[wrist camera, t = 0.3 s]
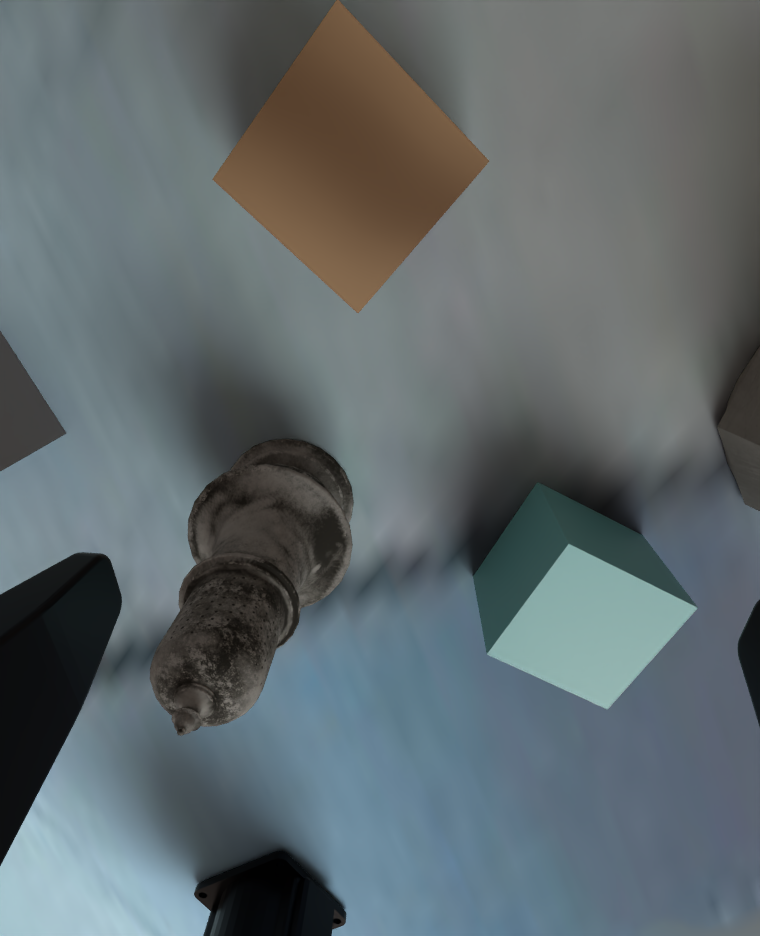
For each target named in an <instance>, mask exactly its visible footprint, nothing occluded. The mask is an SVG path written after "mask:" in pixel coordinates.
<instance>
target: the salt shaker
mask: <svg viewBox="0 0 760 936" xmlns="http://www.w3.org/2000/svg"><path fill="white" fill-rule="evenodd" d="M353 503H354V502H353V494H352V487H351V485H350V483H349V480H348V478H347V476H346V473H345V472H344V470H343V469H342V468H341V467H340V465H339V464H338V463H337V462H336V460H335V459H334V458H332V457H331V456H330V455H328V454H327V453H326V452H324V451H323V450H322V449H320V448H318V447H316V446H313V445H311V444H309V443H306V442H303V441H297V440H291V439H279V440H269V441H267V442H264V443H261V444H258V445H255V446H254V447H252V448H251V449H249V450H248V451H247V452H245V453H244V454H242V455H241V457H240V458H239V459H238V460H237V462H236V463H235V464H234V466H233V467H232V468H231V471H228V472H226V473H223V474H222V475H221V476H219V477H218V478H216V479H215V480H214V481H212V482H211V483H209V484H208V485H207V486H206V487H205V489H204V490H203V491H202V493H201V494H200V495H199V497H198V498H197V499H196V500H195V502H194V505H193V508H192V511H191V514H190V516H189V519H188V541H189V545H190V548H191V552H192V556H193V558H194V560H195V562H196V564H197V565H196V566H194V567H193V568H192V569H191V571H190V572H189V573H188V574H187V576H186V577H185V578H184V580H183V583H182V586H181V588H180V591H179V608H180V612H179V614H178V615H177V617H176V618H175V620H174V622H173V623H172V625H171V626H170V628H169V630H168V631H167V633H166V635H165V636H164V638H163V639H162V641H161V643H160V644H159V646H158V647H157V650H156V652H155V655H154V657H153V660H152V664H151V668H150V681H151V684H152V687H153V691H154V693H155V696H156V698H157V700H158V701H159V703H160V704H161V706H162V707H163V708H164V709H165V710H166V711H167V712H168V713H169V714H170V715H172V722H173V723H174V727H175V729H176V731H177V734H178V735H180V736H182V735H184V734H187V733H190V732H191V731H194V730H197V729H198V728H199V727H200V726H204V727H206V726H218V725H222V724H225V723H228V722H231V721H233V720H235V719H237V718H239V717H240V716H242V715H244V714H245V713H246V712H247V711H248V710H249V709H250V708H251V707H252V706H253V705H254V703H255V702H256V701H257V699H258V697H259V695H260V693H261V691H262V689H263V687H264V684H265V681H266V678H267V675H268V672H269V669H270V666H271V663H272V660H273V657H274V654H275V651H276V649H277V648H279V647H280V646H282V645H284V644H285V642H286V641H287V640H288V639H289V638H290V637H291V636H292V635H293V633H294V631H295V629H296V627H297V625H298V623H299V617H300V610H301V608H302V607H306V606H309V605H312V604H314V603H316V602H317V601H319V600H321V599H322V598H324V597H326V596H327V595H329V594H330V593H331V592H332V591H333V589H334V588H335V587H336V586H337V585H338V584H339V583H340V582H341V581H342V579H343V577H344V575H345V573H346V571H347V569H348V567H349V564H350V558H351V552H352V537H351V530H350V525H349V522H350V520H351V516H352V510H353Z"/></svg>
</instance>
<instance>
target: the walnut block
mask: <svg viewBox="0 0 760 936" xmlns="http://www.w3.org/2000/svg"><path fill="white" fill-rule="evenodd" d="M488 162H489V160H488V159H487V158H486V157H485V156H484V155H483V154H482V153H481V152H480V151H479V150H478V149H477V148H476V146H475V145H474V144H473V143H472V142H471V141H470V140H469V139H468V138H467V137H466V136H465V135H464V134H463V133H462V132H461V130H460V129H459V128H458V127H457V126H456V125H455V124H454V123H453V122H452V121H451V120H450V119H449V118H448V117H447V116H446V114H445V113H444V112H443V111H442V110H441V109H440V108H439V107H438V106H437V105H436V104H435V103H434V102H433V101H432V99H431V98H430V97H429V96H428V95H427V94H426V93H425V92H424V91H423V90H422V89H421V88H420V87H419V86H418V85H417V83H416V82H415V81H414V80H413V79H412V78H411V77H410V76H409V75H408V74H407V73H406V72H405V71H404V70H403V69H402V67H401V66H400V65H399V64H398V63H397V62H396V61H395V60H394V59H393V58H392V57H391V56H390V55H389V54H388V53H387V51H386V50H385V49H384V48H383V47H382V46H381V45H380V44H379V43H378V42H377V41H376V40H375V39H374V38H373V37H372V35H371V34H370V33H369V32H368V31H367V30H366V29H365V28H364V27H363V26H362V25H361V24H360V23H359V22H358V20H357V19H356V18H355V17H354V16H353V15H352V14H351V13H350V12H349V11H348V10H347V9H346V8H345V7H344V6H343V4H342V3H341V2H340V1H339V0H336V2H335V3H334V5H333V6H332V7H331V9H330V10H329V12H328V13H327V15H326V16H325V18H324V19H323V20H322V22H321V23H320V25H319V26H318V28H317V29H316V31H315V32H314V33H313V35H312V36H311V38H310V39H309V41H308V42H307V44H306V45H305V46H304V48H303V49H302V51H301V52H300V54H299V55H298V56H297V58H296V59H295V61H294V62H293V64H292V65H291V67H290V68H289V69H288V71H287V72H286V74H285V75H284V77H283V78H282V80H281V81H280V82H279V84H278V85H277V87H276V88H275V90H274V91H273V93H272V94H271V95H270V97H269V98H268V100H267V101H266V103H265V104H264V106H263V107H262V108H261V110H260V111H259V113H258V114H257V116H256V117H255V119H254V120H253V121H252V123H251V124H250V126H249V127H248V129H247V130H246V132H245V133H244V134H243V136H242V137H241V139H240V140H239V142H238V143H237V145H236V146H235V147H234V149H233V150H232V152H231V153H230V155H229V156H228V158H227V159H226V160H225V162H224V163H223V165H222V166H221V168H220V169H219V171H218V172H217V173H216V175H215V176H214V178H213V180H214V181H215V182H216V183H217V184H218V185H219V186H220V187H221V188H222V189H223V190H225V191H226V192H227V193H228V194H229V195H230V196H231V197H232V198H233V199H234V200H235V201H236V202H238V203H239V204H240V205H241V206H242V207H243V208H244V209H245V210H246V211H247V212H248V213H249V214H251V215H252V216H253V217H254V218H255V219H256V220H257V221H258V222H259V223H260V224H261V225H263V226H264V227H265V228H266V229H267V230H268V231H269V232H270V233H271V234H272V235H273V236H274V237H276V238H277V239H278V240H279V241H280V242H281V243H282V244H283V245H284V246H285V247H286V248H287V249H289V250H290V251H291V252H292V253H293V254H294V255H295V256H296V257H297V258H298V259H299V260H301V261H302V262H303V263H304V264H305V265H306V266H307V267H308V268H309V269H310V270H311V271H312V272H314V273H315V274H316V275H317V276H318V277H319V278H320V279H321V280H322V281H323V282H324V283H325V284H327V285H328V286H329V287H330V288H331V289H332V290H333V291H334V292H335V293H336V294H337V295H338V296H340V297H341V298H342V299H343V300H344V301H345V302H346V303H347V304H348V305H349V306H350V307H352V308H353V309H354V310H355V311H356V312H357V313H359V312H360V311H361V309H362V308H363V307H364V306H365V305H366V304H367V302H368V301H369V300H370V299H371V298H372V297H373V295H374V294H375V293H376V292H377V291H378V290H379V289H380V287H381V286H382V285H383V284H384V283H385V282H386V280H387V279H388V278H389V277H390V276H391V275H392V273H393V272H394V271H395V270H396V269H397V268H398V267H399V265H400V264H401V263H402V262H403V261H404V260H405V258H406V257H407V256H408V255H409V254H410V253H411V251H412V250H413V249H414V248H415V247H416V246H417V245H418V243H419V242H420V241H421V240H422V239H423V238H424V236H425V235H426V234H427V233H428V232H429V231H430V229H431V228H432V227H433V226H434V225H435V224H436V222H437V221H438V220H439V219H440V218H441V217H442V216H443V214H444V213H445V212H446V211H447V210H448V209H449V207H450V206H451V205H452V204H453V203H454V202H455V200H456V199H457V198H458V197H459V196H460V195H461V194H462V192H463V191H464V190H465V189H466V188H467V187H468V185H469V184H470V183H471V182H472V181H473V180H474V178H475V177H476V176H477V175H478V174H479V173H480V172H481V170H482V169H483V168H484V167H485V166H486V165H487V163H488Z"/></svg>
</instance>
